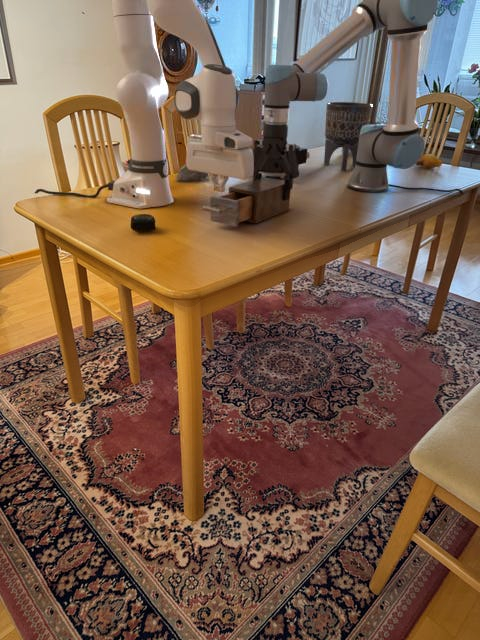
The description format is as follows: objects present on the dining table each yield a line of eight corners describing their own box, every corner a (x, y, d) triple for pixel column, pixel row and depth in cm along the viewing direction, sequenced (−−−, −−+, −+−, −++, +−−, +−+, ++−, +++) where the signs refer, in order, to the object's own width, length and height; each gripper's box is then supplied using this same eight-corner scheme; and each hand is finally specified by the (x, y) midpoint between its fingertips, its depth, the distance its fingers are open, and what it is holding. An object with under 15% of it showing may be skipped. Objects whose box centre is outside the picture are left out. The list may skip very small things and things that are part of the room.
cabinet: (255, 223, 135) (257, 192, 131) (227, 216, 140) (228, 186, 136) (288, 210, 150) (291, 181, 145) (262, 204, 155) (264, 177, 150)
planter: (313, 167, 208) (319, 103, 195) (331, 160, 222) (338, 101, 209) (353, 173, 199) (362, 107, 185) (369, 166, 213) (379, 104, 199)
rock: (201, 174, 189) (200, 158, 186) (213, 179, 184) (213, 162, 180) (174, 179, 182) (173, 162, 178) (186, 184, 176) (186, 167, 173)
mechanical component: (240, 120, 182) (283, 115, 202) (239, 174, 192) (280, 164, 212) (283, 126, 170) (325, 120, 190) (280, 183, 180) (320, 171, 200)
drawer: (223, 231, 124) (224, 205, 120) (197, 225, 128) (197, 199, 125) (270, 213, 142) (272, 190, 138) (246, 208, 146) (247, 185, 143)
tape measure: (131, 234, 126) (129, 221, 124) (132, 226, 132) (131, 213, 130) (155, 233, 127) (154, 220, 125) (156, 225, 133) (155, 213, 131)
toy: (416, 161, 206) (411, 154, 219) (419, 175, 209) (413, 167, 222) (442, 153, 203) (435, 147, 216) (444, 167, 206) (437, 160, 219)
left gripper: (179, 134, 119) (182, 187, 126) (243, 142, 109) (242, 199, 116) (195, 131, 124) (196, 183, 131) (257, 139, 114) (256, 194, 121)
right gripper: (237, 120, 140) (236, 193, 151) (303, 128, 129) (296, 205, 140) (251, 118, 145) (248, 188, 156) (315, 125, 134) (308, 200, 145)
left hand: (218, 191), depth 124 cm, fingers closed
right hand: (271, 196), depth 148 cm, fingers closed on cabinet, 10 cm apart
